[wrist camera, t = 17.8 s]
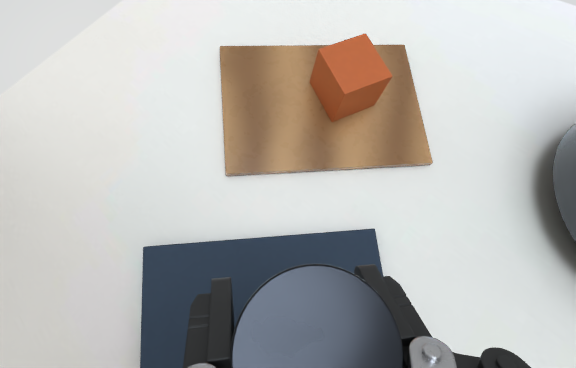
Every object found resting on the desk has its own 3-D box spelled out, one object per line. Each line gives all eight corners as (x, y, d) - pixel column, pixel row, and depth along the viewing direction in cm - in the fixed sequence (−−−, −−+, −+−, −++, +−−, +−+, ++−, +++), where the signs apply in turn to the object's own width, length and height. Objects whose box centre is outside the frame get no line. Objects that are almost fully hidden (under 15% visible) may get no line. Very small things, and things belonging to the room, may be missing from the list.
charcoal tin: (240, 385, 19) (234, 473, 9) (236, 290, 21) (225, 271, 10) (329, 373, 20) (421, 442, 9) (318, 282, 21) (387, 256, 11)
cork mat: (226, 176, 33) (225, 174, 33) (220, 49, 38) (219, 45, 37) (429, 165, 36) (432, 162, 35) (402, 48, 40) (404, 44, 40)
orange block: (331, 122, 36) (344, 94, 31) (309, 81, 37) (318, 48, 32) (374, 105, 37) (393, 76, 32) (351, 66, 38) (365, 32, 33)
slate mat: (140, 441, 26) (138, 444, 26) (145, 247, 31) (143, 246, 30) (402, 403, 29) (405, 405, 28) (372, 229, 33) (375, 228, 33)
